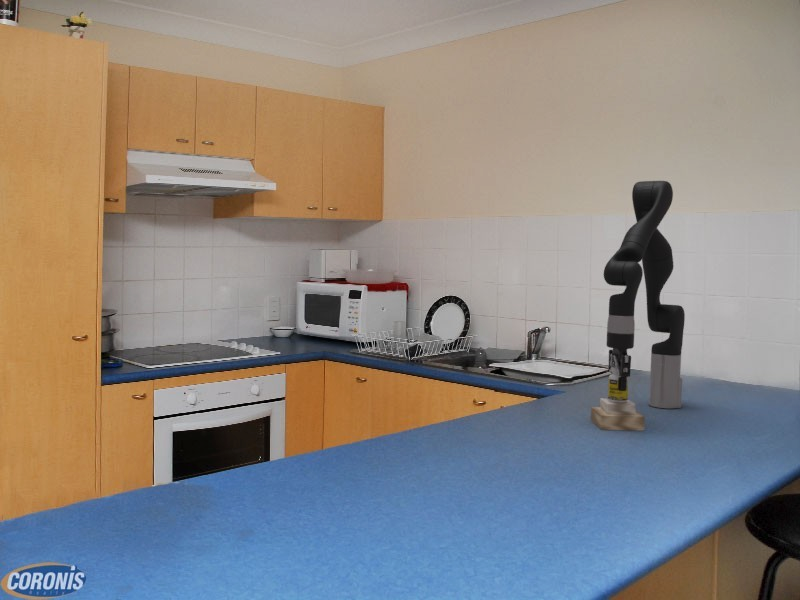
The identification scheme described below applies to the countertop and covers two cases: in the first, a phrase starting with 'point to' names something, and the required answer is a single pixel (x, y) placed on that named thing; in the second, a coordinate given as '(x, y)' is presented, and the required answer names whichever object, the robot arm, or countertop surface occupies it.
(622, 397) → the supplement bottle
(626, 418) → the tower base
